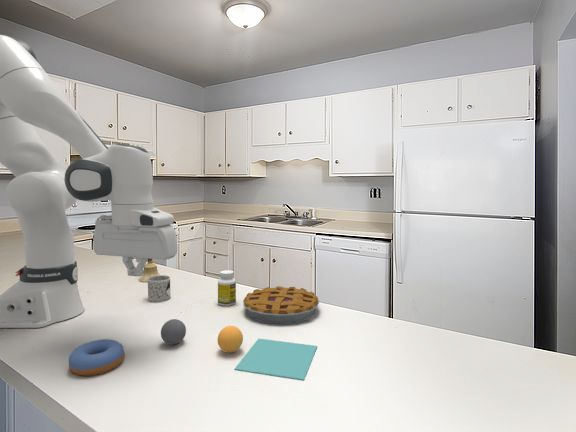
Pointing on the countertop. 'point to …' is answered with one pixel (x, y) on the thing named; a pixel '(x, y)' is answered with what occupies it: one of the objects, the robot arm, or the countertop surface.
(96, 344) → the doughnut
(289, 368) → the mark
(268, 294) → the pie
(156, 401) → the countertop surface
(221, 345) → the ball
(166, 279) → the mug
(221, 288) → the supplement bottle
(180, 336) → the ball
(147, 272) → the hand bell
